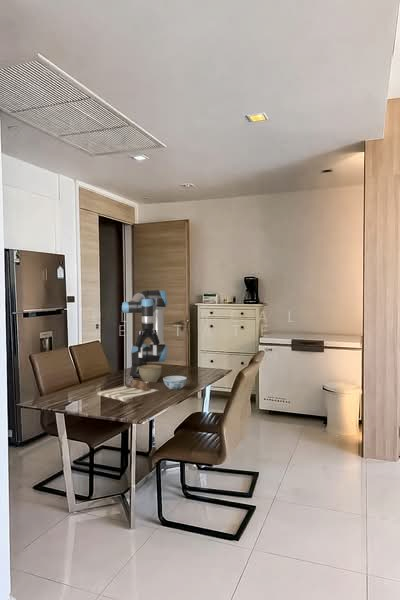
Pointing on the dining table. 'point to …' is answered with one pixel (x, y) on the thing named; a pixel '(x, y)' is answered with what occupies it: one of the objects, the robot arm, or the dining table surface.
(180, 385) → the chinaware
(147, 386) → the gauge needle
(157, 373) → the planter bowl
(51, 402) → the dining table surface
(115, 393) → the gauge board
